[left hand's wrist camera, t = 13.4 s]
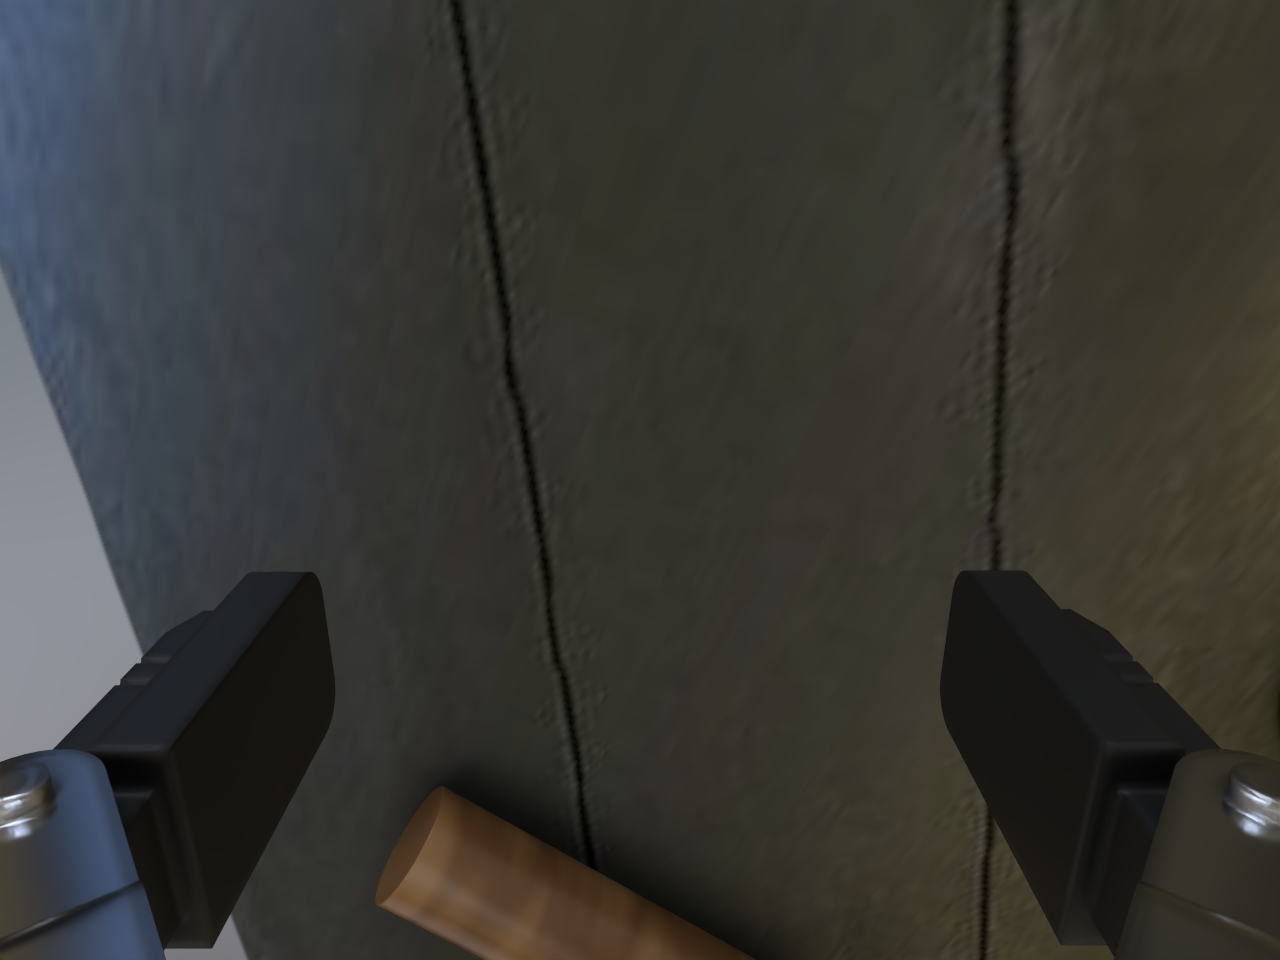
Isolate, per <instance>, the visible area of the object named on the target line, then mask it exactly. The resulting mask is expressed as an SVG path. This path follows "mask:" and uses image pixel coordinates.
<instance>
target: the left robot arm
mask: <svg viewBox="0 0 1280 960" xmlns="http://www.w3.org/2000/svg"><path fill="white" fill-rule="evenodd" d="M1132 657H1133V656H1132V655H1131V654H1130V653H1129V652H1128V651H1127V650H1126V649H1125V648H1124V647H1123V646H1122V645H1121V644H1120V643H1119V642H1118V641H1117V640H1116V639H1115V638H1114V637H1113V636H1112V635H1111V633H1110V632H1109V631H1107V630H1106V629H1104V628H1102V627H1100V626H1099V625H1097V624H1095V623H1093V622H1092V621H1090V620H1088V619H1086V618H1085V617H1083V616H1081V615H1079V614H1078V613H1076V612H1074V611H1073V610H1071V609H1060V608H1059V607H1058V606H1057V605H1056V604H1055V602H1054V601H1053V600H1052V599H1051V598H1050V597H1049V596H1048V595H1047V594H1046V592H1045V591H1044V590H1043V589H1042V588H1041V587H1040V586H1039V585H1038V584H1037V582H1036V581H1035V580H1034V579H1033V578H1032V577H1031V576H1030V575H1029V574H1028V573H1027V572H1025V571H962V572H960V573H959V575H958V576H957V578H956V581H955V584H954V588H953V594H952V601H951V608H950V615H949V622H948V629H947V636H946V644H945V651H944V658H943V665H942V672H941V681H940V696H941V706H942V711H943V716H944V720H945V723H946V726H947V728H948V731H949V733H950V734H951V736H952V738H953V740H954V742H955V744H956V746H957V748H958V750H959V752H960V753H961V755H962V757H963V759H964V761H965V763H966V765H967V767H968V769H969V771H970V773H971V774H972V776H973V778H974V780H975V782H976V784H977V786H978V788H979V790H980V792H981V794H982V795H983V797H984V799H985V801H986V803H987V805H988V807H989V809H990V811H991V813H992V814H993V816H994V818H995V820H996V822H997V824H998V826H999V828H1000V830H1001V832H1002V834H1003V835H1004V837H1005V839H1006V841H1007V843H1008V845H1009V847H1010V849H1011V851H1012V853H1013V854H1014V856H1015V858H1016V860H1017V862H1018V864H1019V866H1020V868H1021V870H1022V872H1023V874H1024V875H1025V877H1026V879H1027V881H1028V883H1029V885H1030V887H1031V889H1032V891H1033V893H1034V895H1035V896H1036V898H1037V900H1038V902H1039V904H1040V906H1041V908H1042V910H1043V912H1044V914H1045V915H1046V917H1047V919H1048V921H1049V923H1050V925H1051V927H1052V929H1053V931H1054V933H1055V935H1056V936H1057V938H1058V940H1059V942H1060V944H1061V945H1108V947H1109V949H1110V950H1111V952H1112V954H1113V956H1114V957H1115V958H1114V960H1280V762H1278V761H1275V760H1273V759H1270V758H1266V757H1263V756H1259V755H1256V754H1251V753H1246V752H1242V751H1234V750H1226V749H1221V748H1220V747H1219V746H1218V745H1217V744H1216V743H1215V742H1214V741H1213V740H1212V739H1211V738H1210V737H1209V736H1208V735H1207V734H1206V733H1205V732H1204V730H1203V729H1202V728H1201V727H1200V726H1199V725H1198V724H1197V723H1196V722H1195V721H1194V720H1193V719H1192V718H1191V717H1190V716H1189V715H1188V714H1187V713H1186V712H1185V711H1184V710H1183V709H1182V708H1181V706H1180V705H1179V704H1178V703H1177V702H1176V701H1175V700H1174V699H1173V698H1172V697H1171V696H1170V695H1169V694H1168V693H1167V692H1166V691H1165V690H1164V689H1163V688H1162V687H1161V686H1160V685H1159V684H1158V683H1153V677H1152V676H1151V675H1150V674H1149V673H1148V672H1147V671H1146V670H1145V669H1144V668H1143V667H1142V666H1141V665H1140V664H1139V663H1138V662H1133V659H1132ZM334 703H335V678H334V671H333V664H332V657H331V650H330V643H329V636H328V629H327V622H326V615H325V608H324V601H323V594H322V588H321V585H320V582H319V579H318V578H317V576H316V575H315V574H314V573H312V572H250V573H248V574H247V575H246V576H245V577H244V578H243V579H242V580H241V581H240V582H239V583H238V584H237V586H236V587H235V588H234V589H233V590H232V591H231V592H230V593H229V594H228V595H227V597H226V598H225V599H224V600H223V601H222V602H221V603H220V604H219V605H218V606H217V608H216V609H215V610H214V611H203V612H201V613H199V614H198V615H196V616H194V617H192V618H191V619H189V620H187V621H185V622H184V623H182V624H180V625H178V626H177V627H175V628H173V629H172V630H170V631H168V632H166V633H165V634H164V635H163V636H162V637H161V638H160V639H159V640H158V641H157V642H156V644H155V645H154V646H153V647H152V648H151V649H150V650H149V651H148V652H147V653H146V654H145V655H144V656H143V657H142V658H141V663H137V664H135V665H134V666H133V667H132V668H131V669H130V670H129V671H128V672H127V673H126V675H125V676H124V677H123V678H122V679H121V682H120V685H115V686H114V687H113V688H112V689H111V690H110V691H109V692H108V693H107V694H106V695H105V696H104V697H103V698H102V699H101V701H99V702H98V703H97V705H96V706H95V707H94V708H93V709H92V710H91V711H90V712H89V713H88V714H87V715H86V716H85V717H84V718H83V719H82V720H81V721H80V722H79V723H78V724H77V725H76V726H75V727H74V728H73V729H72V730H71V731H70V732H69V734H68V735H67V736H66V737H65V738H64V739H63V740H62V741H61V742H60V743H59V744H58V745H57V746H56V747H55V748H54V749H53V750H46V751H38V752H34V753H29V754H24V755H21V756H17V757H14V758H10V759H7V760H5V761H2V762H0V960H166V958H165V955H164V949H165V948H212V947H213V946H214V944H215V942H216V940H217V938H218V936H219V934H220V932H221V931H222V929H223V927H224V925H225V923H226V921H227V919H228V917H229V915H230V914H231V912H232V910H233V908H234V906H235V904H236V902H237V900H238V899H239V897H240V895H241V893H242V891H243V889H244V887H245V885H246V883H247V882H248V880H249V878H250V876H251V874H252V872H253V870H254V868H255V867H256V865H257V863H258V861H259V859H260V857H261V855H262V853H263V851H264V850H265V848H266V846H267V844H268V842H269V840H270V838H271V836H272V835H273V833H274V831H275V829H276V827H277V825H278V823H279V821H280V819H281V818H282V816H283V814H284V812H285V810H286V808H287V806H288V804H289V803H290V801H291V799H292V797H293V795H294V793H295V791H296V789H297V787H298V786H299V784H300V782H301V780H302V778H303V776H304V774H305V772H306V771H307V769H308V767H309V765H310V763H311V761H312V759H313V757H314V755H315V754H316V752H317V750H318V748H319V746H320V744H321V742H322V740H323V739H324V737H325V735H326V733H327V731H328V729H329V726H330V723H331V719H332V715H333V710H334Z"/></svg>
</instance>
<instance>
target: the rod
mask: <svg viewBox="0 0 1280 960" xmlns="http://www.w3.org/2000/svg"><path fill="white" fill-rule="evenodd" d="M376 904H377V905H378V906H380V907H382V908H384V909H386V910H388V911H390V912H392V913H394V914H396V915H398V916H400V917H402V918H404V919H406V920H408V921H410V922H412V923H413V924H415V925H417V926H419V927H421V928H423V929H425V930H427V931H429V932H431V933H433V934H435V935H437V936H439V937H441V938H443V939H445V940H447V941H449V942H451V943H453V944H455V945H457V946H459V947H461V948H462V949H464V950H466V951H468V952H470V953H472V954H474V955H476V956H478V957H480V958H482V959H484V960H756V959H754V958H753V957H751V956H749V955H747V954H745V953H744V952H742V951H740V950H738V949H736V948H735V947H733V946H731V945H729V944H727V943H726V942H724V941H722V940H720V939H718V938H717V937H715V936H713V935H711V934H709V933H707V932H706V931H704V930H702V929H700V928H698V927H697V926H695V925H693V924H691V923H689V922H688V921H686V920H684V919H682V918H680V917H679V916H677V915H675V914H673V913H671V912H669V911H668V910H666V909H664V908H662V907H660V906H659V905H657V904H655V903H653V902H651V901H650V900H648V899H646V898H644V897H642V896H641V895H639V894H637V893H635V892H633V891H632V890H630V889H628V888H626V887H624V886H622V885H621V884H619V883H617V882H615V881H613V880H612V879H610V878H608V877H606V876H604V875H603V874H601V873H599V872H597V871H595V870H594V869H592V868H590V867H588V866H586V865H584V864H583V863H581V862H579V861H577V860H575V859H574V858H572V857H570V856H568V855H566V854H565V853H563V852H561V851H559V850H557V849H556V848H554V847H552V846H550V845H548V844H546V843H545V842H543V841H541V840H539V839H537V838H536V837H534V836H532V835H530V834H528V833H527V832H525V831H523V830H521V829H519V828H518V827H516V826H514V825H512V824H510V823H509V822H507V821H505V820H503V819H501V818H499V817H498V816H496V815H494V814H492V813H490V812H489V811H487V810H485V809H483V808H481V807H480V806H478V805H476V804H474V803H472V802H471V801H469V800H467V799H465V798H463V797H461V796H460V795H458V794H456V793H454V792H452V791H451V790H449V789H447V788H445V787H443V786H439V787H437V788H436V789H435V790H434V791H432V792H431V793H430V794H429V795H428V797H427V798H426V799H425V800H424V801H423V803H422V804H421V805H420V807H419V808H418V809H417V811H416V812H415V814H414V815H413V817H412V818H411V820H410V821H409V823H408V824H407V826H406V828H405V829H404V831H403V833H402V835H401V836H400V838H399V840H398V842H397V844H396V846H395V847H394V849H393V851H392V853H391V855H390V858H389V860H388V862H387V864H386V866H385V869H384V871H383V874H382V876H381V879H380V882H379V885H378V888H377V893H376Z"/></svg>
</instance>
